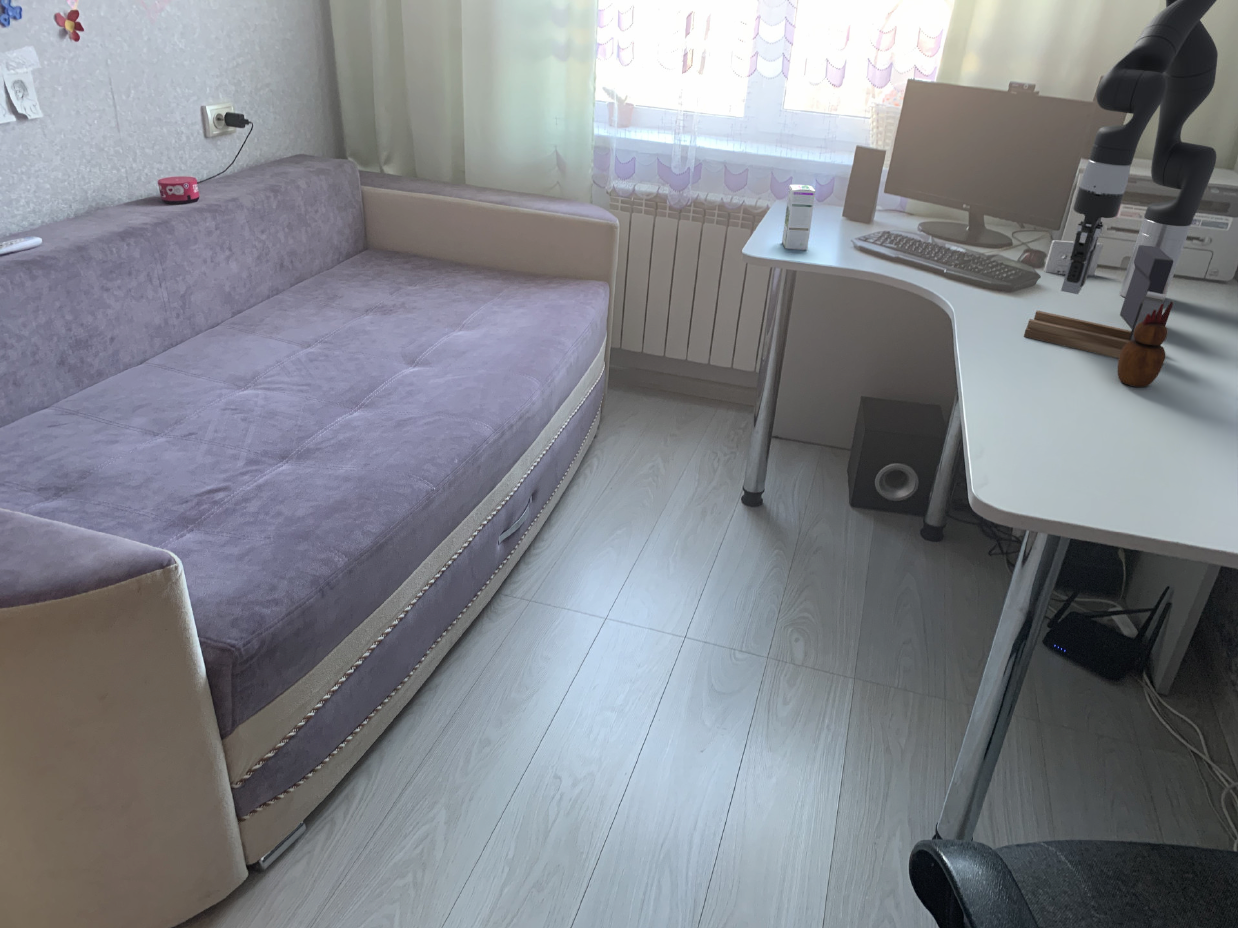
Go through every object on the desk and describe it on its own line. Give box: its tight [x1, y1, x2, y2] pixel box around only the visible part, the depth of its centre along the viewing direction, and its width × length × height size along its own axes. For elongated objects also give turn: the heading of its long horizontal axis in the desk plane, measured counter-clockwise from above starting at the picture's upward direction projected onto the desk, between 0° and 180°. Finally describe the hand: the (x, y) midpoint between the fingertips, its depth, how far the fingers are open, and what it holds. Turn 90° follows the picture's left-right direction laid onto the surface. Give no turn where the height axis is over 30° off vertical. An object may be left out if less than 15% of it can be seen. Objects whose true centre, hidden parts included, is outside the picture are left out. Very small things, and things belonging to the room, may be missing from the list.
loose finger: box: [1060, 242, 1096, 295], centre depth 177 cm, size 4×3×10 cm
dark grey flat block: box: [1119, 245, 1174, 329], centre depth 190 cm, size 11×4×15 cm, turn 168°
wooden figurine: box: [1116, 301, 1174, 388], centre depth 161 cm, size 7×6×15 cm
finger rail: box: [1023, 291, 1166, 359], centre depth 179 cm, size 10×23×12 cm, turn 57°
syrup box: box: [781, 184, 816, 251], centre depth 229 cm, size 6×6×14 cm
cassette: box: [1043, 239, 1104, 276], centre depth 224 cm, size 12×2×8 cm, turn 89°
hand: (1074, 278), depth 179 cm, fingers closed on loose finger, 4 cm apart
